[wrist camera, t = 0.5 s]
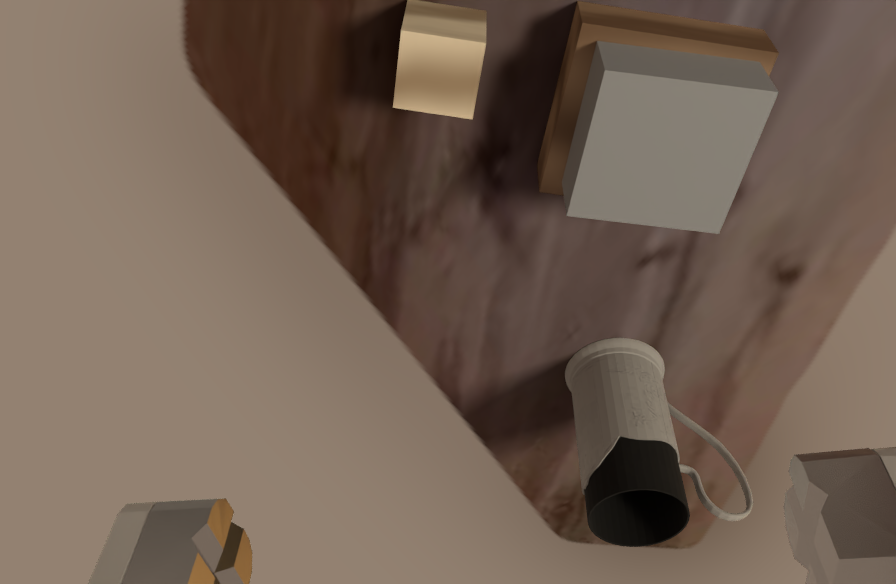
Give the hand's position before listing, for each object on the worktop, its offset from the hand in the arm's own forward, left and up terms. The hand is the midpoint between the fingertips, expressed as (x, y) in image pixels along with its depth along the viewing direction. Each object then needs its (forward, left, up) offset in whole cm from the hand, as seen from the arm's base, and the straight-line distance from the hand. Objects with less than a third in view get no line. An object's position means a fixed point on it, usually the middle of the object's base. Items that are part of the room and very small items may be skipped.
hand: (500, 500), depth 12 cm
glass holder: (+40, +21, -43) cm, 62 cm away
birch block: (+12, -1, -43) cm, 45 cm away
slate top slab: (+14, +13, -39) cm, 44 cm away
